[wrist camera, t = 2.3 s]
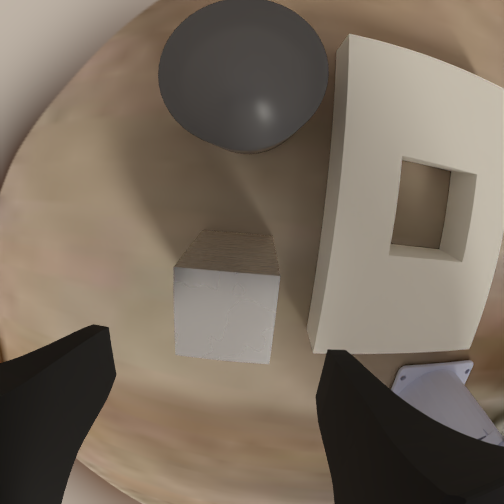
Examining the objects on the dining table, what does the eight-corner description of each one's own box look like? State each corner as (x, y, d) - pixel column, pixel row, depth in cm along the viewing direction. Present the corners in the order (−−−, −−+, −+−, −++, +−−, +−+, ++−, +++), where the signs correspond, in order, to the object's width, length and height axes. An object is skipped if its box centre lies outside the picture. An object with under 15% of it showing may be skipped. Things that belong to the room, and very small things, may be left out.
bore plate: (450, 329, 21) (469, 349, 18) (306, 328, 21) (313, 353, 18) (487, 98, 16) (512, 93, 13) (336, 51, 16) (349, 33, 13)
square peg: (266, 299, 20) (269, 363, 13) (200, 294, 20) (175, 354, 13) (272, 235, 19) (280, 276, 12) (203, 230, 19) (173, 266, 12)
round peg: (298, 158, 18) (322, 156, 11) (189, 151, 18) (150, 144, 11) (306, 57, 16) (330, 7, 9) (199, 51, 16) (170, -1, 9)
